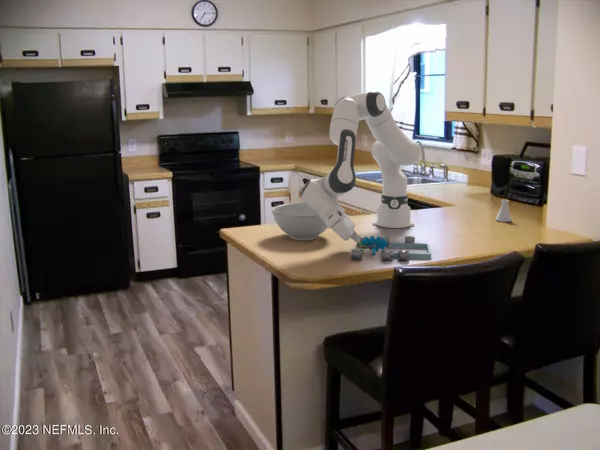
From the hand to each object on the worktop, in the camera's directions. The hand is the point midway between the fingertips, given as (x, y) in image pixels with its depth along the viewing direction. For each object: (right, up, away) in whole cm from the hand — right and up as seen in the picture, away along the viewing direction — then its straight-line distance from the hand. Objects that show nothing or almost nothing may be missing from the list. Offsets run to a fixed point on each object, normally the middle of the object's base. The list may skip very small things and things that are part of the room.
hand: (359, 241), depth 236 cm
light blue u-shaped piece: (+19, -4, +1) cm, 20 cm away
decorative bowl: (-21, +1, +26) cm, 33 cm away
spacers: (+10, -4, +2) cm, 11 cm away
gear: (+5, -5, +1) cm, 7 cm away
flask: (+74, +8, +57) cm, 94 cm away
